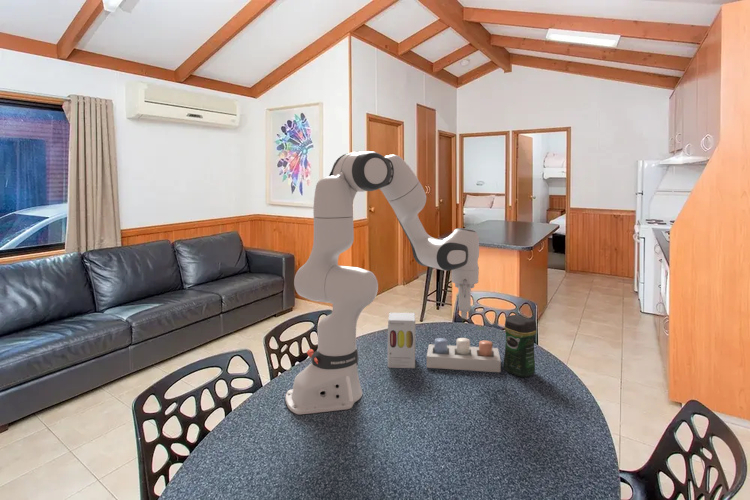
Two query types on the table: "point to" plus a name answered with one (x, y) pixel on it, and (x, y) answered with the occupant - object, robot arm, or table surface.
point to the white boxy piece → (463, 360)
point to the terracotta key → (485, 348)
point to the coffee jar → (519, 346)
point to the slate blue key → (440, 346)
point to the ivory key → (463, 345)
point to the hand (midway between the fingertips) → (463, 316)
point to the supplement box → (401, 340)
